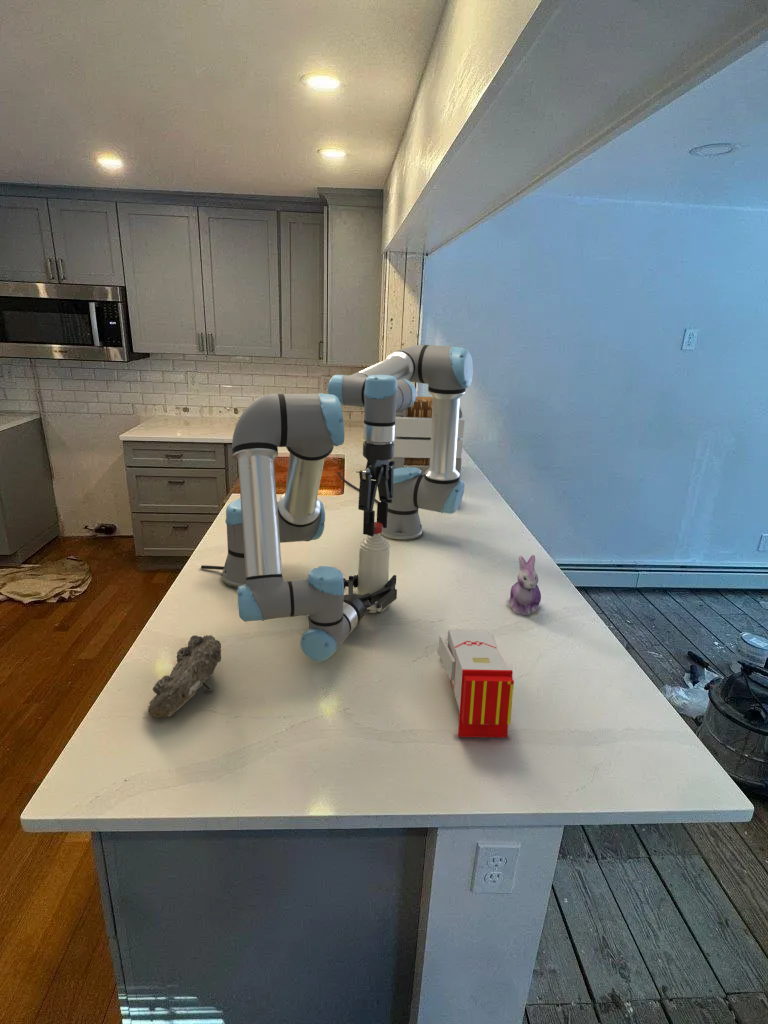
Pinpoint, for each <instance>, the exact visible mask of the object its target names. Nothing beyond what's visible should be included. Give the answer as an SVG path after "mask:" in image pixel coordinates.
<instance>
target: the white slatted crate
mask: <svg viewBox="0 0 768 1024" xmlns="http://www.w3.org/2000/svg"><path fill="white" fill-rule="evenodd" d="M432 402H433V396H417V395H416V400H415V402H414V403H413V404H412V405H411V406H410V407H408V408H407V409H405V410H401V411H398V412H396V418H395V440H394V441H393V443H394V456H393V458H392V459H389V460H390V461H394V462H395V466H394V469H397V468H403V467H405V466H406V467H417V466H418V467H429V466H430V444H431V423H432ZM464 429H465V419H464V418H463V411H462V408H461V406H460V407H459V422H458V437H457V452H456V467H455V469H456V470H457V471H458V472H459V474H460V476H459V480H461V472H462V461H463V460H462V453H463V442H464V441H463V440H462V439H463V438H464V431H465V430H464Z"/></svg>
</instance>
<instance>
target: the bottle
mask: <svg viewBox="0 0 768 1024" xmlns="http://www.w3.org/2000/svg"><path fill="white" fill-rule="evenodd" d="M389 542H390V541H388V540H387V539H386V538H385V537H384V536H383V535H381V534H374V536H369V535H366V537H364V538H363V539H361V540H360V542H359V543H358V559H357V561H358V562H357V564H358V565H357V575H358V587H357V593H356V594H359V595H365V594H367V593H370V594H372V593H374V592H376V591H379V590H381V589H383V588H385V585H386V583H387V582H388V581H389V580H390V579H389V577H390V559H391V558H390V557H391V545H390V543H389ZM373 605H374V604H373ZM387 608H388V606H387V607H386V608H384V609H383V610H382V612H383V611H385V610H386V609H387ZM368 613H369V614H370V613H371V614H373V613H374V614H376V611H372V610H370V611H369V612H368Z"/></svg>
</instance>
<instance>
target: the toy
mask: <svg viewBox="0 0 768 1024" xmlns="http://www.w3.org/2000/svg"><path fill="white" fill-rule="evenodd" d="M446 640H447V643H446V641H445V639H444V636H443V635H442V634H439V637H438V646H437V656H438V657H439V659H440V661H441V663H442V666H443V668H444V670H445V672H446V674H447V677H448V679H449V681H450V684H451V687H452V690H453V693H454V697H455V701H456V705H457V708H458V711H459V714H458V715H459V716H458V730H457V731H458V732H457V737H458V738H508V731H509V726H510V725H511V717H512V707H513V697H514V696H513V695H514V684H515V680H514V679H513V673H514V671H513V670H512V669H508V667H507V665H506V662H505V661H504V659H503V658H502V655H501V653H500V651H499V649H498V647H497V643H496V639H495V637H494V635H493V634H491V632H490V631H489V629H467V628H466V629H465V628H463V629H461V628H460V629H459V628H448V630H447V639H446Z"/></svg>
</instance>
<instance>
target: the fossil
mask: <svg viewBox="0 0 768 1024" xmlns="http://www.w3.org/2000/svg"><path fill="white" fill-rule="evenodd" d="M175 657H176V662H177V663H176V664H175V666H173V669H172V670H171V671H170V673H169V675H164V676H162V677H161V679H158V680H157V682H156V683H154V686H153V687H152V691H153V692H154V694H155V696H154V697H153V698H152V699H151V700H150V701H149V705H148V706H147V708H148V709H147V711H148V715H149V717H153V718H154V719H161V718H167V717H171V716H173V715H174V714H175V713H176V712H177V711H178V710H180V709H181V708H182V707H183V706H184V705H185V704H186V703H187V702H188V701H189V700H191V698H192V697H194V696H195V694H196V693H197V690H199V689H200V688H201V687H202V686H203V687H205V688H206V690H208V691H210V690H211V687H210V686H209V685H208V684H207V683H206V680H207V679H209V678H211V677H212V675H213V674H214V673H215V670H216V668H217V666H218V664H219V663H220V662H221V661H222V643H221V642H220V640H218V639H216V638H215V636H213V635H211V634H209V635H207V634H206V635H203V636H199V635H197V634H195V635H192V636H190V638H189V640H188V643H187V646H184V647H180V649H178V650H177V652H176V656H175Z"/></svg>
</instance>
